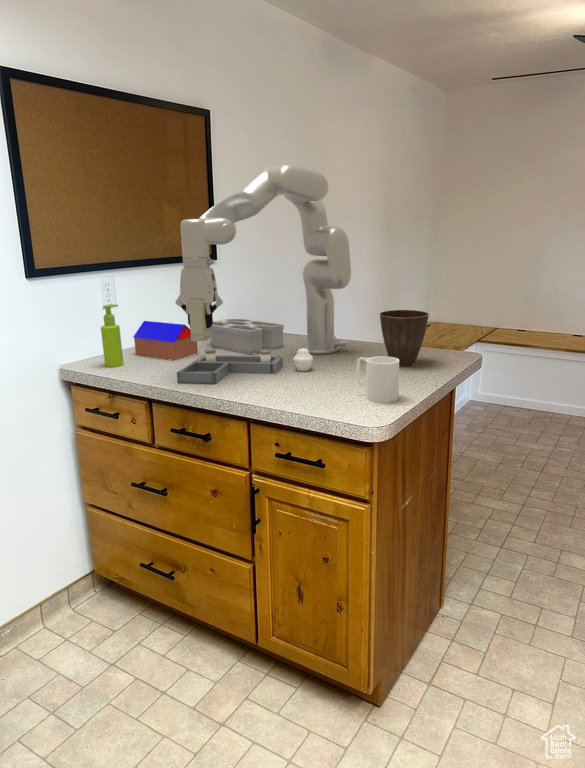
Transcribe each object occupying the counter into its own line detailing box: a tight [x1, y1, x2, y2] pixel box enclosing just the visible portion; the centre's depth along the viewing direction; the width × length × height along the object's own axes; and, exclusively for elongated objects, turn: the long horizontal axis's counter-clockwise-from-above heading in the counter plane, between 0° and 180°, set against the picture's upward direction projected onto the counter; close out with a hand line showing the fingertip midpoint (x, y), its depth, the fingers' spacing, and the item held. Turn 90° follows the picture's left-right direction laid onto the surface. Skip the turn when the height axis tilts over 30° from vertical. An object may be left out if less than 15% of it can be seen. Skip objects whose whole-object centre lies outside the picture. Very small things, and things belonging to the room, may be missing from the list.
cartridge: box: [259, 348, 272, 363], centre depth 184 cm, size 3×3×6 cm
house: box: [132, 320, 199, 361], centre depth 208 cm, size 12×20×12 cm, turn 57°
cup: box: [355, 355, 400, 404], centre depth 152 cm, size 8×12×10 cm
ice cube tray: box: [210, 318, 285, 355], centre depth 219 cm, size 17×28×9 cm, turn 46°
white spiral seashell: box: [292, 347, 314, 372], centre depth 181 cm, size 6×6×7 cm
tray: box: [176, 361, 231, 385], centre depth 176 cm, size 12×14×3 cm
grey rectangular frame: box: [192, 354, 284, 374], centre depth 186 cm, size 27×10×3 cm, turn 78°
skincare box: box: [189, 299, 212, 342], centre depth 172 cm, size 6×4×12 cm
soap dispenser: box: [100, 303, 124, 368], centre depth 193 cm, size 6×7×20 cm
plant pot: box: [379, 309, 430, 367], centre depth 184 cm, size 15×15×16 cm
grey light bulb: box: [204, 347, 217, 361], centre depth 188 cm, size 3×3×6 cm
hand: (200, 326), depth 172 cm, fingers closed on skincare box, 4 cm apart
